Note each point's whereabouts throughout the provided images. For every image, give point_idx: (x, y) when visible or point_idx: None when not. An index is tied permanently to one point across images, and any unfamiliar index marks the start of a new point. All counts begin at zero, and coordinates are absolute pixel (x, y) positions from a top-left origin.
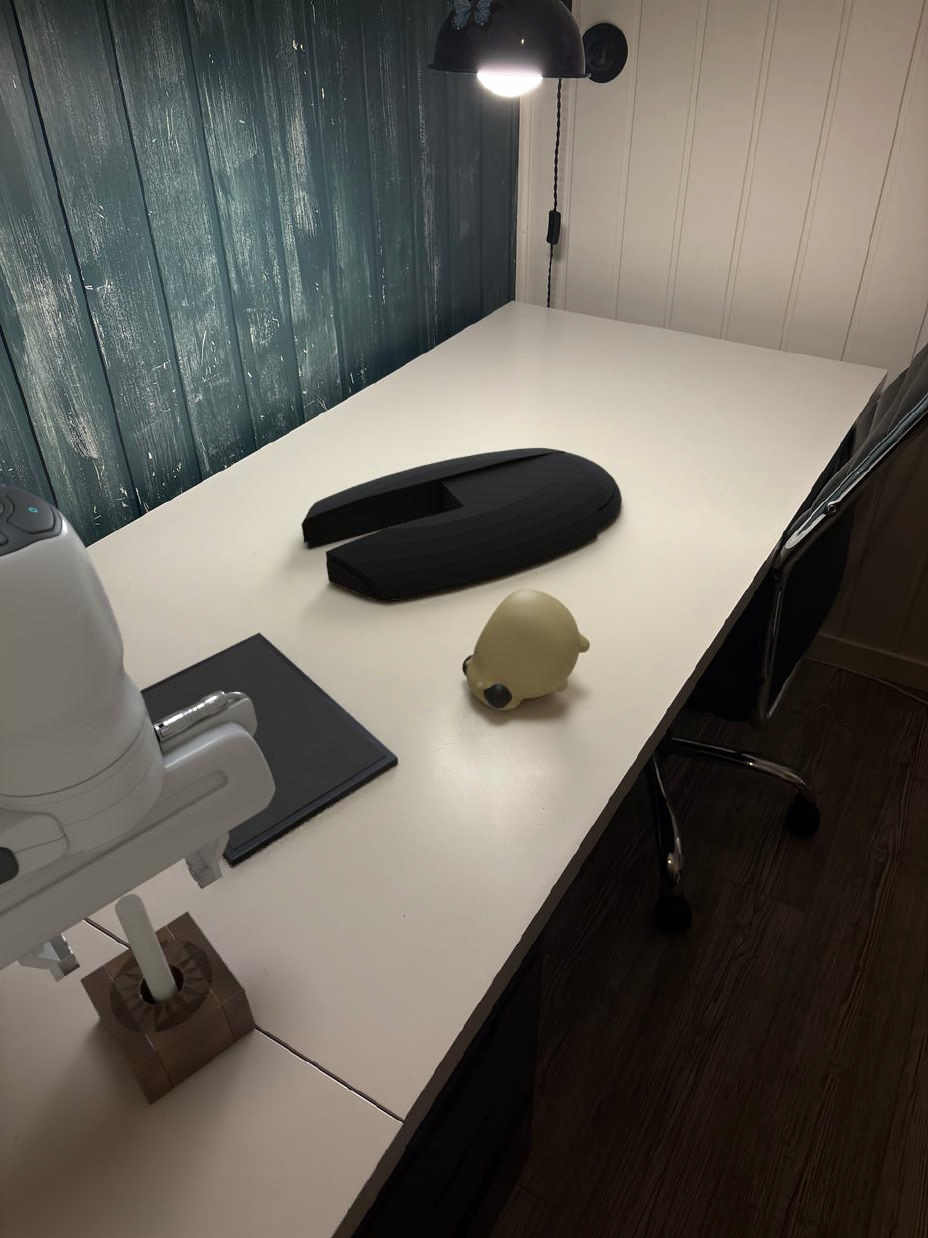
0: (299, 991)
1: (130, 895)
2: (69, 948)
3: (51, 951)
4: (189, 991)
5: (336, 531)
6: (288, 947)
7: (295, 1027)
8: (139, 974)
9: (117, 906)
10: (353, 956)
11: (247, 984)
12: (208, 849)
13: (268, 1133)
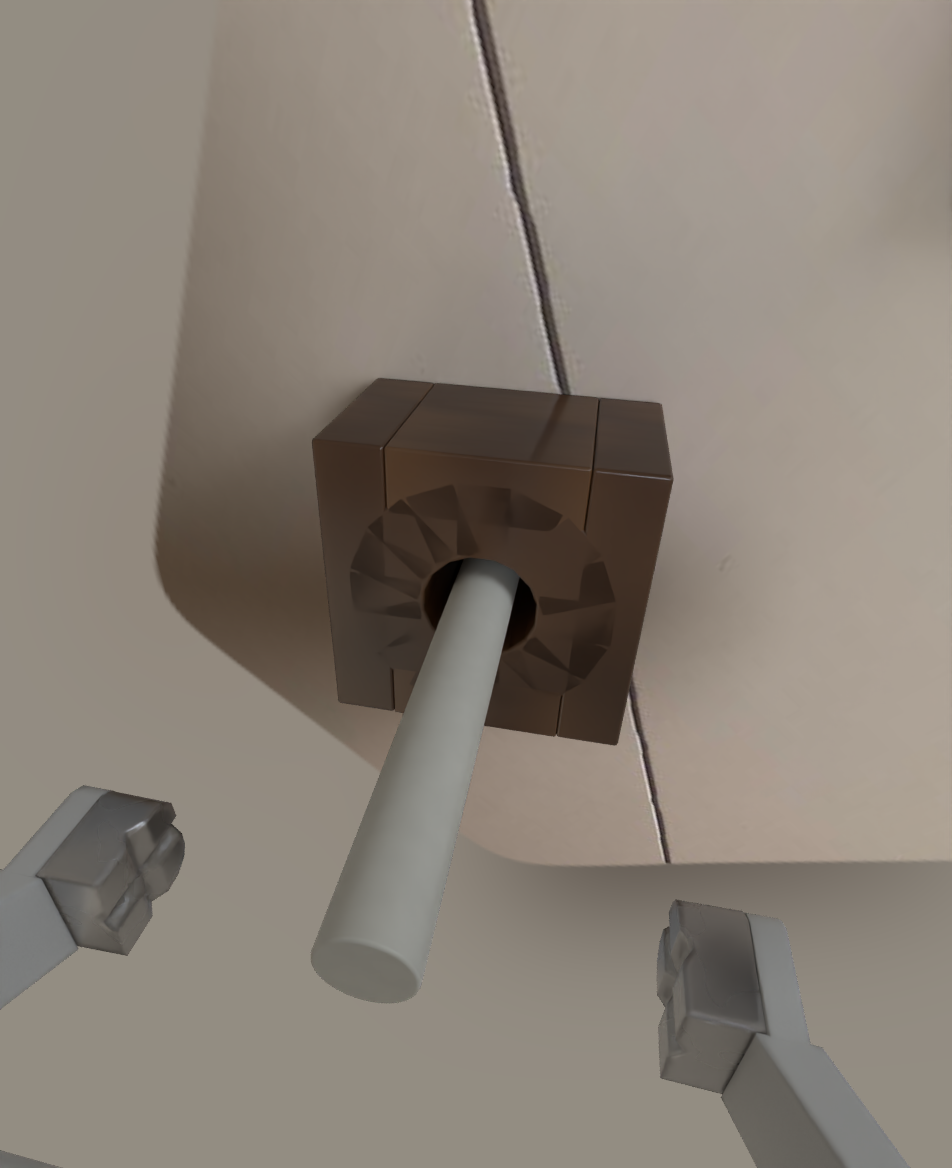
0: (734, 644)
1: (390, 955)
2: (117, 938)
3: (47, 931)
4: (520, 667)
5: None
6: (809, 556)
7: (670, 685)
8: (447, 547)
9: (325, 950)
10: (879, 672)
11: (672, 557)
12: (782, 1162)
13: (515, 758)
